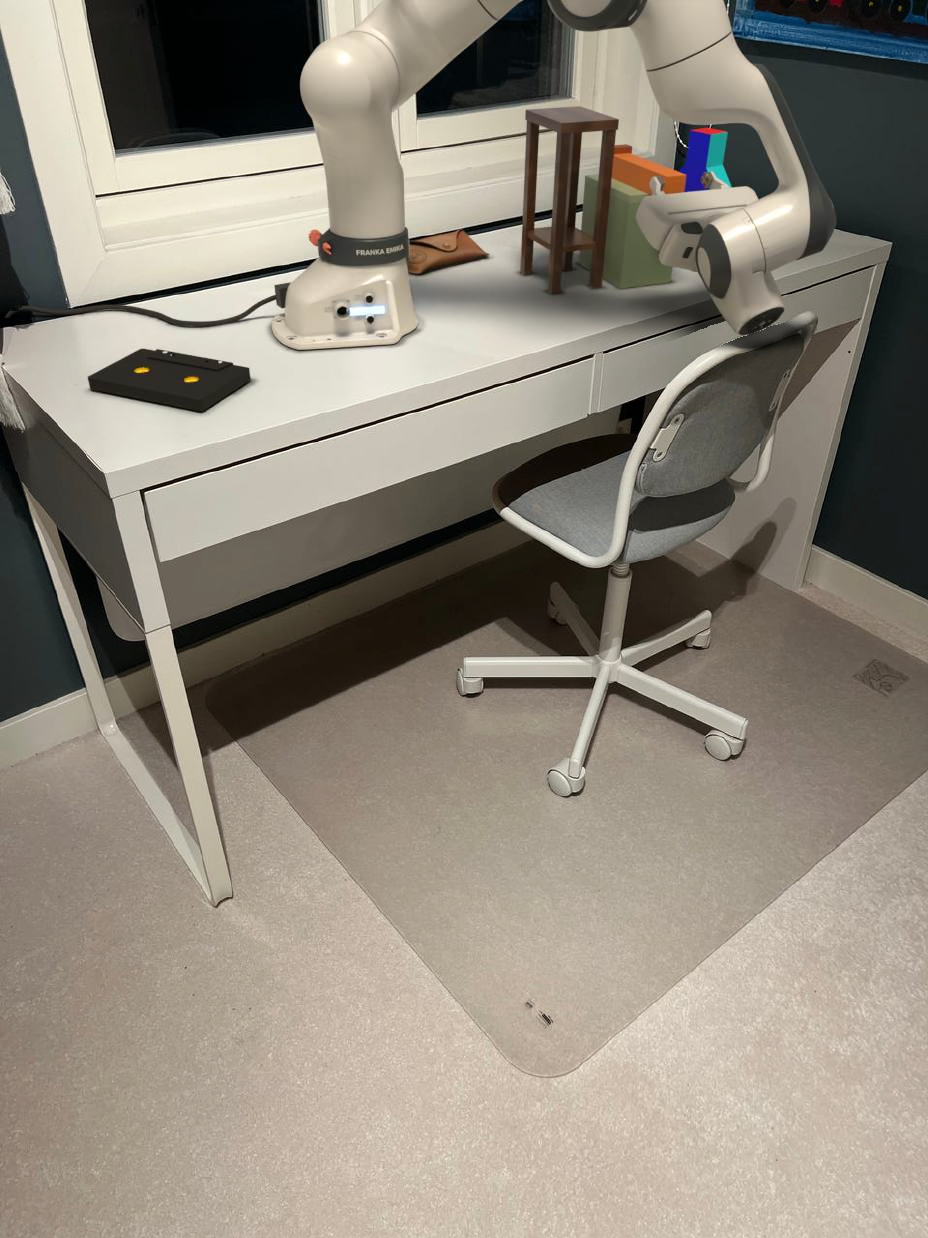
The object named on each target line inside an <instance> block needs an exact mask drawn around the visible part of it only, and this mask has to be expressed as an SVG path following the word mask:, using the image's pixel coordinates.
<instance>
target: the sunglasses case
mask: <svg viewBox="0 0 928 1238" xmlns="http://www.w3.org/2000/svg"><path fill="white" fill-rule="evenodd" d="M409 246H410V257H409V266H408V274H409V273H410V274H414V275H420V274H423V273H426V272H429V271H433V270H434V271H435V270H437V269H438V270H439V269H443V268H447V267H451V266H457V265H461V264H465V263H469V262H473V261H476V260H479V259H482V258H485V257H487V256H490V253H488V252H486V251H485V250H484V249H483V248H482V247H481V246H480V245H478V244H477V242H476V241H474V240H473V239H472V237H470V236H469V235H468V234H467V233H466V230H465V229H464V228H461V229H458V230H456V231H453V232H448V233H444V234H437V235H433V236H429V237H424V238H420V239H415V240H409Z"/></svg>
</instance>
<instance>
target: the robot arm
mask: <svg viewBox="0 0 928 1238" xmlns="http://www.w3.org/2000/svg"><path fill="white" fill-rule="evenodd" d="M522 1H523V0H381V1H380V2H379V3H378V4H377V5H376V6H375V7H374V8H373V9H372V11H371V12H370V13H368V15H367V16H365V18H364V19H363V20H362V21H361V22H359V24H358V25H356V26H355V27H354V28H352V29H350V30H349V31H347V32H345V33H343V34H340V35H337V36H333V37H330V38H328V39H326V40H324V41H322V42H321V43H320V44H319V45H317V46H316V48H315V49H314V50H313V52H312V53H311V54H310V56H309V57H308V59H307V60H306V62H305V64H304V66H303V68H302V71H301V75H300V80H299V90H300V91H299V92H300V97H301V100H302V103H303V106H304V108H305V110H306V111H307V114H308V115H309V116H310V118H311V120H312V123H313V127H314V131H315V136H316V140H317V144H318V147H319V150H320V156H321V160H322V163H323V169H324V174H325V183H326V184H325V185H326V196H327V197H326V198H327V207H328V208H327V209H328V219H329V228H328V229H327V230H326V231H325V232H324V233H322V232H320V231H319V230H318V229H312V230H310V231H309V233H308V237H307V238H308V241H309V242H310V243H311V244H312V246H315V247H317V252H318V257H317V259H315V260H314V261H313V262H312V263H311V264H310V265H309V266H308V267H307V268H306V269H305V270H303V271H302V273H300V274H299V275H298V276H297V277H296V278H294V279H293V280H292V281H290V282H284V283H279V284H274V295H273V294H272V295H271V296H268V297H266V298H264V299H261V300H260V301H257V302H256V303H255V304H253V305H252V306H250V307H249V308H248V309H246V310H245V311H243V312H242V313H239V314H236V315H235V316H234V315H233V316H231V317H228V318H221V319H217V320H207V321H205V320H204V321H202V320H201V321H200V320H198V321H196V320H183V319H176V318H173V317H170V316H168V315H166V314H163V313H161V312H158V311H155V310H152V309H147V308H142V307H138V306H133V305H127V304H126V305H125V304H100V305H91V306H85V307H78V308H70V309H50V308H43V307H38V306H31V305H21V306H22V307H21V308H19V310H21V311H19V310H18V311H11V310H9V311H8V312H7V313H6V315H5V316H4V318H5V319H10V318H12V317H13V316H14V315H16V314H17V313H20V312H35V313H40V314H46V315H53V316H68V315H76V314H82V313H89V312H97V311H105V310H106V311H107V310H108V311H109V310H110V311H111V310H113V311H114V310H116V311H117V310H118V311H130V312H136V313H140V314H145V315H149V316H153V317H157V318H160V319H162V320H164V321H166V322H168V323H171V324H174V325H177V326H183V327H214V326H215V327H216V326H222V325H227V324H231V323H234V322H237V321H240V320H243V319H244V318H246V317H248V316H249V315H251V314H252V313H253V312H255V311H257V309H260V308H261V307H263V306H264V305H266V304H269V303H271V302H274V301H275V303H276V306H277V307H279V308H280V309H284V312H283V313H279V314H277V315H275V316H274V317H273V318H272V320H271V331H272V334H273V336H274V337H275V338H276V340H277V341H279V342H280V343H281V344H283V345H284V346H286V347H288V348H291V349H294V350H297V351H298V350H300V351H302V350H303V351H304V350H319V349H334V348H335V349H336V348H337V349H338V348H351V347H366V346H367V347H368V346H381V345H382V346H384V345H394V344H396V343H399V341H400V340H401V339H402V337H403V336H405V335H407V334H410V333H411V332H413V331H414V330H415V329H417V327H418V326H419V319H418V315H417V312H416V308H415V305H414V301H413V296H412V292H411V285H410V278H409V272H408V266H409V257H410V246H409V241H410V237H409V229H408V227H406V211H405V209H406V207H405V177H404V176H405V175H404V168H403V166H402V164H401V162H400V159H399V155H398V151H397V145H396V141H395V135H394V134H395V133H394V128H393V113H394V112H396V111H398V109H399V108H400V107H401V106H403V105H404V104H405V103H406V102H407V101H409V100H410V99H411V98H412V97H413V96H414V95H415V94H416V93H417V92H418V91H420V90H422V88H423V87H424V86H425V85H426V84H428V83H429V82H430V81H431V80H432V79H433V78H434V77H435V76H436V75H438V73H440V72H441V71H442V70H443V69H444V68H445V67H446V66H447V65H448V64H450V62H452V61H453V60H454V59H455V58H456V57H458V55H460V54H461V53H462V52H463V51H464V50H465V49H468V47H469V46H470V45H472V44H473V43H474V42H475V41H476V40H477V39H479V38H481V36H482V35H483V34H485V32H487V31H488V30H489V29H490V28H491V27H493V26H494V25H495V24H496V23H497V22H498V21H500V20H501V19H502V18H503V17H505V16H506V15H507V14H508V13H509V12H510V11H511V10H512V9H513V8H515V7H516V6H517V5H518V4H520V3H521V2H522ZM546 1H547V4H548V6H549V8H550V10H551V12H552V13H553V15H554V16H555V17H556V18H557V20H559V21H560V22H561V23H562V24H563V25H565V26H566V27H567V28H570V29H572V30H574V31H579V32H586V33H589V32H590V33H591V32H593V33H594V32H600V31H606V30H607V31H608V30H614V29H624V28H628V27H629V28H630V30H631V31H632V33H633V35H634V37H635V40H636V42H637V45H638V49H639V51H640V54H641V58H642V61H643V65H644V69H645V72H646V73H645V74H646V76H647V79H648V83H649V86H650V88H651V91H652V94H653V96H654V98H655V100H656V103H657V105H658V107H659V109H660V110H661V111H662V112H663V113H664V114H665V115H666V116H667V117H669V118H670V119H672V120H675V121H676V122H679V123H682V124H685V125H692V126H694V125H695V126H712V125H713V126H714V125H725V124H746V125H748V126H751V128H753V129H754V130H755V131H756V133H757V135H758V136H759V138H760V140H761V142H762V145H763V147H764V150H765V152H766V154H767V157H768V160H769V162H770V163H771V165H772V168H773V170H774V172H775V175H776V177H777V179H778V185H777V188H776V189H775V190H774V191H773V192H771V193H770V194H767V195H765V196H763V197H761V198H758V197H759V196H758V195H757V193H756V191H755V190H754V189H752V188H751V187H749V186H747V185H745V186H735V187H732V188H729V186H728V185H727V184H726V183H724V182H723V181H721V180H720V179H718V178H717V177H716V176H715V174H714V172H713V171H711V172H704V173H703V176H702V177H701V183H702V184H703V186H704V188H709V189H711V190H703V191H693V192H683V193H673V194H665V193H664V191H662V188H663V187H664V185H665V182H664V180H663V179H662V177H661V176H658V177H652V178H651V181H650V183H649V187H650V189H651V190H652V192H653V193H652V196H645V197H644V198H643V200H642V202H641V203H640V205H639V208H638V210H637V213H636V221H637V223H638V225H639V227H640V229H641V231H642V232H643V234H644V236H645V237H646V239H647V241H648V242H649V243H650V245H651V246H652V247H653V248H655V249H657V250H659V251H660V254H659V260H660V262H661V263H662V264H663V265H666V266H672V268H673V267H674V268H679V269H683V270H688V271H691V272H694V273H697V274H698V275H699V277H700V279H701V281H702V283H703V285H704V286H705V289H706V290H707V292H708V293H709V295H710V297H711V299H712V301H713V303H714V305H715V306H716V308H717V310H718V312H719V313H720V314H721V316H722V317H723V319H724V320H725V322H726V323H727V325H729V327H730V328H731V329H732V330H733V331H734V332H735V333H736V334H737V335H739V336H748V335H749V336H750V335H752V334H755V333H757V332H760V331H762V330H765V329H766V328H768V327H770V326H772V324H775V322H777V321H778V320H779V319H780V318H781V317H782V315H783V314H784V312H785V310H786V308H785V303H784V300H783V296H782V295H781V292H780V289H779V286H778V284H777V282H776V280H775V278H774V276H773V274H772V272H773V271H775V270H777V269H780V268H782V267H783V266H786V265H788V264H790V263H792V262H794V261H800V260H802V259H805V258H808V257H810V256H813V255H816V254H818V253H821V252H822V251H823V250H824V249H825V248H826V247H827V245H828V243H829V241H830V240H831V237H832V236H833V233H834V231H835V229H836V227H837V214H836V211H835V207H834V205H833V204H834V203H833V202H832V199H831V198H830V196H829V194H828V192H827V190H826V188H825V186H824V184H823V182H822V180H821V179H820V177H819V175H818V173H817V171H816V169H815V166H814V164H813V162H812V160H811V157H810V154H809V152H808V150H807V148H806V146H805V143H804V141H803V138H802V136H801V133H800V130H799V129H798V126H797V124H796V122H795V119H794V116H793V114H792V112H791V110H790V107H789V105H788V103H787V101H786V99H785V96H784V95H783V93H782V91H781V90H782V89H781V88H780V85H779V84H778V82H777V80H776V79H775V77H774V76H773V74H772V73H771V72H770V70H769V69H768V68H767V67H766V66H765V65H764V64H761V63H752V62H750V61H749V60H748V59H747V58H746V56H745V55H744V54H743V53H742V51H741V50H740V47H739V46H738V44H737V42H736V39H735V36H734V33H733V29H732V25H731V21H730V17H729V14H728V11H727V7H726V4H725V1H724V0H546Z"/></svg>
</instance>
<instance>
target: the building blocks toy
mask: <svg viewBox="0 0 928 1238" xmlns="http://www.w3.org/2000/svg"><path fill="white" fill-rule="evenodd" d="M728 133H729V131H725V130H721V129H715V128H711V127H701V128H697V129H690V132H689V138H688V146H687V147H688V148H687V153H686V160H685V164H684V165H683V166H682V167H681V168H680V169H679V171H678V172H680V173H683V174H685V175H687V176H686V183H685V190H684V192H693V191H703V190H711V189H709V188H704V186H703V184H702V183H701V177H702V176H703V173H704V172H711V171H713V172H714V174H715V176H716V177H717V178H718V179H720V180H721V181H723V182H724V183H726V184H727V185H728V186H729V188H733V187H732V184H731V181H730V179H729V176H728V174H727V171H726V169H725V167H724V159H725V152H726V146H727V140H728Z"/></svg>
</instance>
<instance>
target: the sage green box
mask: <svg viewBox="0 0 928 1238" xmlns="http://www.w3.org/2000/svg"><path fill="white" fill-rule="evenodd" d="M598 177H599V173H597V174H587V175H584V186H583V187H584V188H583V199H582V210H581V211H582V212H581V213H582V214H581V226H580V230H581V231H583V232H585V233H587V234H589V235H591V236H592V237H593V236H594V224H595V212H596V201H597V189H598ZM645 196H652V195H650V194H647V193H645V192H643V191H640V190H638V189H636V188H634V187H631V186H629V185H627V184H624V183H622V182H620V181H617V180H615V179H613V178H612V180H611V191H610V202H609V212H608V223H607V234H606V245H605V255H604V266H603V277H602V280H605V281H606V282H608V283H610V284H612V285H614V286H615V287H617V288H618V289H621V290H622V289H628V288H630V289H631V288H636V287H643V286H644V287H645V286H652V285H660V284H661V285H662V284H669V283H671V280H672V271H673V267H672V266H666V265H663V264H662V263H661V262H660V260H659V254H660V251H659V250H657V249H655V248H653V247H652V246H651V245H650V243H649V242H648V241H647V239H646V237H645V236H644V234H643V232H642V231H641V229H640V227H639V225H638V223H637V221H636V213H637V210H638V208H639V205H640V203H641V202H642V200H643V198H644V197H645ZM578 252H579V253H578V265H580V266H582V267H583V268H585V269H587V270H588V271H589V272H590V271H591V259H592V249H591V250H582V251H578Z"/></svg>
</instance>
